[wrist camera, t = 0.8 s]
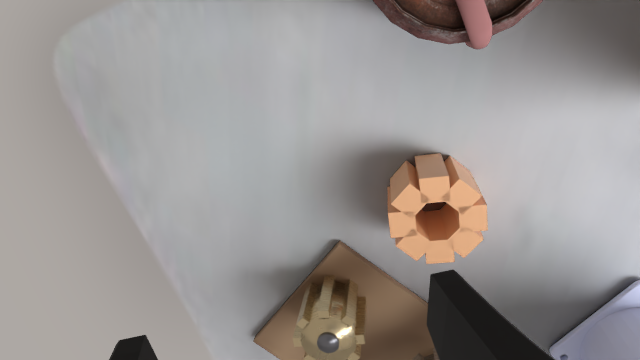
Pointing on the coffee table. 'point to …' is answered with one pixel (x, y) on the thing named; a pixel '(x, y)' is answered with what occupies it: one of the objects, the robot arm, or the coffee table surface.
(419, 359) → the gear
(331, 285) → the gear
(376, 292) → the gear board
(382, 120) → the coffee table surface
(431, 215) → the idler gear
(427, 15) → the can
